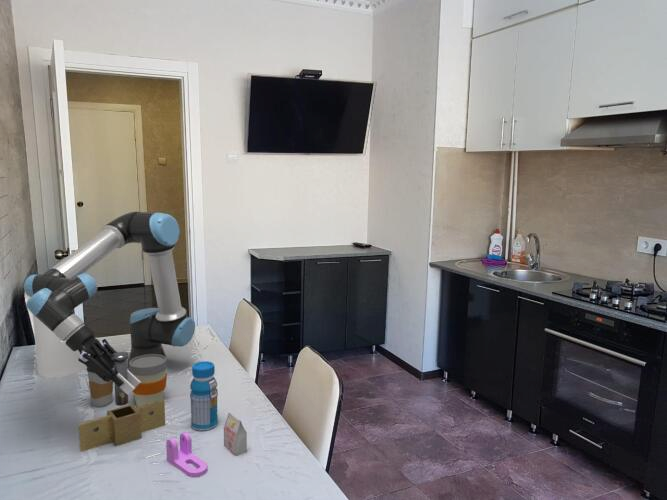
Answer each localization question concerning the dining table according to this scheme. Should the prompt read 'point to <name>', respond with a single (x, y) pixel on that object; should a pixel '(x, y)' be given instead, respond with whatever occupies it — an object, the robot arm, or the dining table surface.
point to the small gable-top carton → (235, 435)
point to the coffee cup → (100, 389)
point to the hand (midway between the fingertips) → (134, 388)
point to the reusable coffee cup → (149, 378)
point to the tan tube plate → (121, 425)
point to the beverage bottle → (203, 396)
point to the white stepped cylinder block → (54, 353)
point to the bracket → (185, 456)
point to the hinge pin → (121, 368)
